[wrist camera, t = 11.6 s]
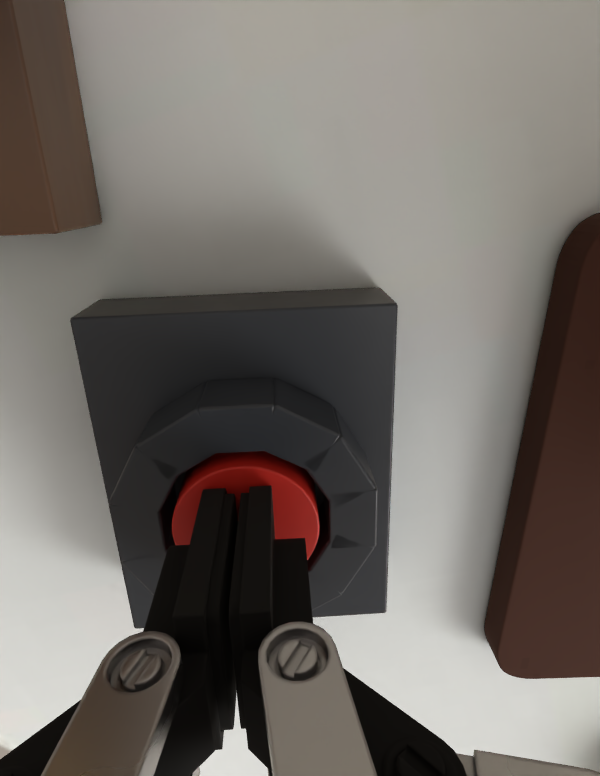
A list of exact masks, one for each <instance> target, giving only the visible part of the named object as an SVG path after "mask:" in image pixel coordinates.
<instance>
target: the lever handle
mask: <svg viewBox="0 0 600 776" xmlns="http://www.w3.org/2000/svg"><path fill="white" fill-rule="evenodd" d="M484 628H485V635H486V638H487V641H488V643H489V645H490V647H491V649H492V651H493V653H494V655H495V658H496V660H497V662H498V664H499V666H500V668H501V669H502V670H503V671H504V672H505V673H507V674H509V675H512V676H515V677H519V678H526V679H539V678H573V677H600V213H598V214H595V215H593V216H591V217H589V218H587V219H585V220H584V221H582V222H581V223H580V224H579V225H578V226H577V227H576V228H575V229H574V230H573V231H572V233H571V234H570V236H569V237H568V239H567V240H566V242H565V244H564V246H563V248H562V250H561V253H560V255H559V258H558V262H557V266H556V270H555V275H554V280H553V285H552V290H551V295H550V300H549V305H548V310H547V315H546V320H545V325H544V330H543V335H542V340H541V345H540V350H539V355H538V360H537V365H536V370H535V375H534V380H533V385H532V390H531V395H530V400H529V405H528V410H527V415H526V420H525V425H524V430H523V435H522V440H521V445H520V450H519V455H518V460H517V465H516V470H515V475H514V480H513V485H512V490H511V495H510V500H509V505H508V510H507V515H506V520H505V525H504V530H503V535H502V540H501V545H500V550H499V555H498V559H497V564H496V569H495V574H494V579H493V584H492V589H491V594H490V599H489V604H488V609H487V614H486V619H485V626H484Z"/></svg>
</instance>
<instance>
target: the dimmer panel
mask: <svg viewBox="0 0 600 776" xmlns="http://www.w3.org/2000/svg"><path fill="white" fill-rule="evenodd" d="M101 223H102V218H101V212H100V206H99V200H98V195H97V189H96V183H95V177H94V171H93V166H92V160H91V154H90V148H89V142H88V137H87V131H86V125H85V119H84V113H83V107H82V102H81V96H80V90H79V84H78V78H77V73H76V67H75V61H74V55H73V49H72V44H71V38H70V32H69V26H68V20H67V14H66V9H65V3H64V0H0V236H7V235H32V234H57V233H61V232H66V231H71V230H75V229H80V228H85V227H90V226H94V225H99V224H101Z"/></svg>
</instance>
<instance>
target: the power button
mask: <svg viewBox="0 0 600 776" xmlns="http://www.w3.org/2000/svg"><path fill="white" fill-rule="evenodd" d="M269 485H272V497H273V512H274V528H275V539H290V538H305V541H306V552H307V560H308V559H309V557H310V556H311V554H312V552H313V551H314V549H315V546H316V544H317V541H318V537H319V527H320V524H319V515H318V508H317V500H316V493H315V485H314V480H313V479H312V477H311V476H310V475H309V473H308V472H307V471H306V469H304V468H302V467H299V466H297V465H295V464H293V463H290V462H288V461H286V460H283V459H281V458H279V457H277V456H274V455H272V454H270V453H268V452H265V451H254V452H235V453H216V454H214V455H213V456H211V457H209V458H208V459H206V460H204V461H202V462H201V463H199V464H197V465H196V466H194V467H192V468H191V469H189V470H187V472H186V474H185V477H184V480H183V484H182V487H181V490H180V493H179V496H178V500H177V503H176V506H175V509H174V513H173V517H172V535H173V539H174V543H175V545H190V541H191V536H192V532H193V528H194V524H195V519H196V515H197V511H198V507H199V503H200V498H201V494H202V491H203V489H216V488H226V491H227V494H233V493H234V494H235V499H236V510H237V520H238V516H239V506H240V497H241V493H249V487H251V486H269Z"/></svg>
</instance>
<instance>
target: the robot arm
mask: <svg viewBox="0 0 600 776" xmlns="http://www.w3.org/2000/svg"><path fill="white" fill-rule="evenodd" d="M236 690H237V698H238V707H239V716H240V724H241V729H244V728H246V732H247V741H248V749H249V750H250V751H251V752H252V753H253V754H254V755H255V756H256V757H257V758H258V759H259V760H260V761H261V762H262V763H263V764H264V765H265V766H266V767H267V768H268V776H600V773H599V772H596V771H593V770H590V769H586V768H580V767H574V766H568V765H562V764H556V763H550V762H544V761H538V760H532V759H527V758H521V757H515V756H509V755H503V754H497V753H491V752H485V751H479V750H474V755H473V756H468V755H463V754H457V753H455V751H454V750H453V749H452V748H451V747H450V746H448V745H447V744H446V743H445V742H444V741H443V740H442V739H440V738H439V737H438V736H436V735H435V734H434V733H432V732H431V731H429V730H428V729H427V728H425V727H424V726H422V725H421V724H420V723H418V722H417V721H416V720H414V719H413V718H411V717H410V716H409V715H407V714H406V713H404V712H403V711H402V710H400V709H399V708H398V707H396V706H395V705H393V704H392V703H391V702H389V701H388V700H387V699H385V698H384V697H382V696H381V695H380V694H378V693H377V692H375V691H374V690H373V689H371V688H370V687H369V686H367V685H366V684H364V683H363V682H362V681H360V680H359V679H357V678H356V677H355V676H353V675H352V674H351V673H349V672H348V671H346V670H345V669H344V668H343V667H342V664H341V660H340V657H339V654H338V651H337V648H336V645H335V643H334V641H333V639H332V637H331V636H330V635H329V634H328V633H327V632H326V631H325V630H324V629H323V628H321V627H319V626H317V625H315V624H313V618H312V607H311V596H310V585H309V574H308V563H307V552H306V541H305V538H290V539H275V528H274V512H273V497H272V485H269V486H251V487H249V493H241V497H240V506H239V516H238V520H237V510H236V499H235V494H234V493H233V494H227V491H226V488H216V489H203V491H202V494H201V498H200V503H199V507H198V511H197V515H196V519H195V524H194V528H193V532H192V536H191V541H190V545H174V546H170V547H169V548H168V550H167V553H166V556H165V560H164V563H163V567H162V570H161V573H160V577H159V580H158V584H157V587H156V590H155V594H154V597H153V600H152V604H151V607H150V611H149V614H148V617H147V621H146V624H145V628H144V631H143V632H141V633H138V634H134V635H131V636H129V637H127V638H126V639H124V640H122V641H120V642H119V643H118V644H116V645H115V646H114V647H113V648H112V649H111V650H110V651H109V652H108V653H107V655H106V656H105V657H104V659H103V660H102V662H101V664H100V666H99V667H98V669H97V671H96V673H95V675H94V677H93V679H92V681H91V682H90V684H89V686H88V688H87V690H86V692H85V694H84V695H83V697H82V699H81V700H80V701H79V702H77V703H76V704H75V705H73V706H72V707H71V708H69V709H68V710H67V711H65V712H64V713H63V714H61V715H60V716H58V717H57V718H56V719H54V720H53V721H52V722H50V723H49V724H48V725H46V726H45V727H44V728H42V729H41V730H40V731H38V732H37V733H35V734H34V735H33V736H31V737H30V738H29V739H27V740H26V741H25V742H23V743H22V744H21V745H19V746H18V747H16V748H15V749H14V750H12V751H11V752H10V753H8V754H7V755H6V756H4V757H3V758H2V759H0V776H199V775H200V768H199V766H200V765H201V764H202V763H203V762H204V761H205V760H206V759H207V758H208V757H209V756H210V755H211V754H212V753H213V752H214V751H215V750H219V749H222V745H223V734H224V730H230V729H233V727H234V717H235V703H236Z"/></svg>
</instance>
